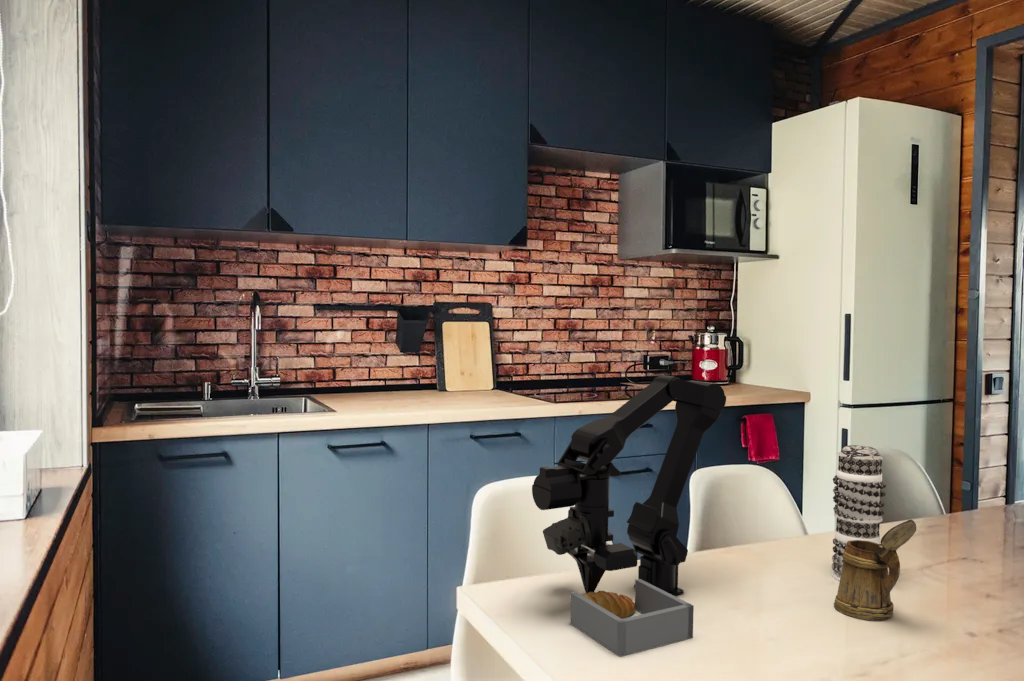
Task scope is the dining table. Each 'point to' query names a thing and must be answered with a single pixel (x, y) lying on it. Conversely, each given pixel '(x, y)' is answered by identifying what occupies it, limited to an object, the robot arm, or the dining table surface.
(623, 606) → the pastry
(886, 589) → the wooden mug
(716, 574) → the dining table surface
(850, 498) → the decorative candle
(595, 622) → the box
